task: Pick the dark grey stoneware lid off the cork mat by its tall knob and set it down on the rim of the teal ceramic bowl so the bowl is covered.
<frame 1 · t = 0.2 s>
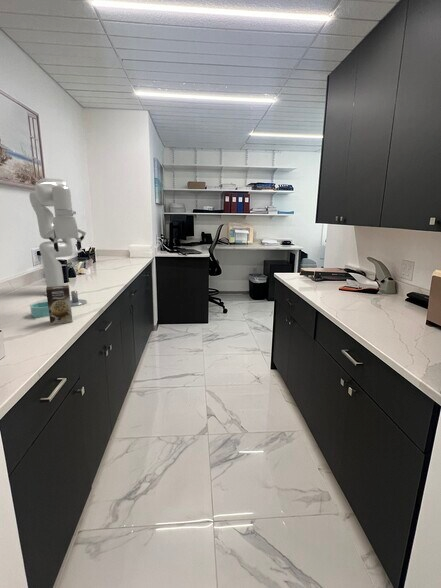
hand: (68, 250, 148), 30 cm above the table, tool pointing down, fingers open, 9 cm apart
bowl: (45, 314, 149), on the table
coffee box: (61, 322, 140), on the table
lid: (75, 303, 166), point 1 cm above the table, touching mat
mat: (75, 304, 166), on the table
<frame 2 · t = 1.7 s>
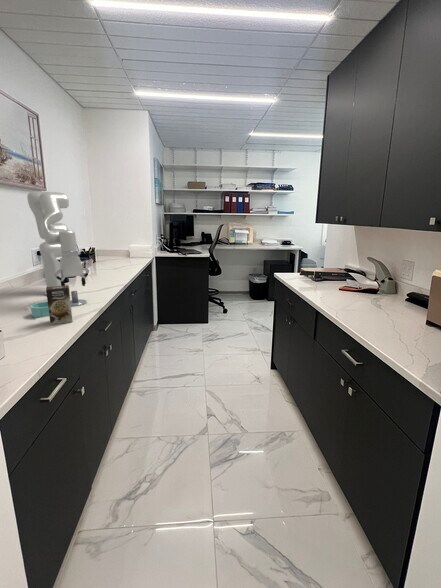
hand: (74, 287, 163), 10 cm above the table, tool pointing down, fingers open, 9 cm apart
nothing on the table moved.
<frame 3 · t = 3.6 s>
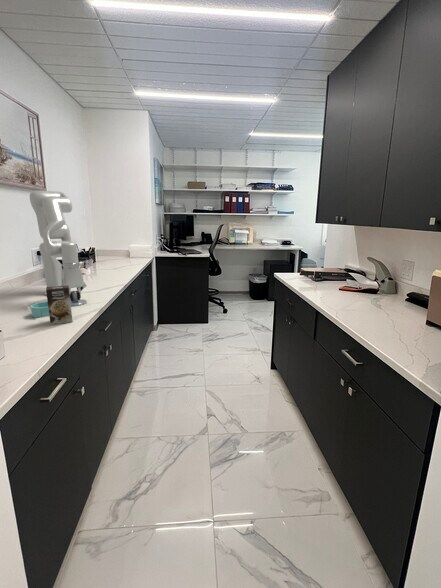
hand: (75, 299, 165), 3 cm above the table, tool pointing down, fingers closed on lid, 3 cm apart
lid: (75, 303, 166), point 1 cm above the table, touching gripper, mat
everything else where it was.
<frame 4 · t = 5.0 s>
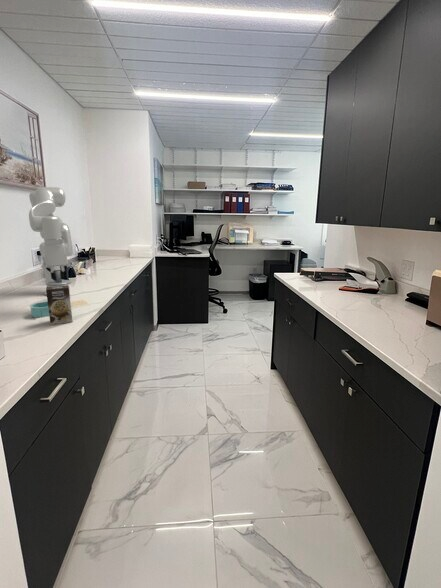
hand: (58, 279, 154), 16 cm above the table, tool pointing down, fingers closed on lid, 3 cm apart
lid: (58, 283, 154), point 13 cm above the table, touching gripper
everything else where it was.
when the fingers open (8 cm above the table, at t = 6.9 s): lid stays where it is, resting on bowl.
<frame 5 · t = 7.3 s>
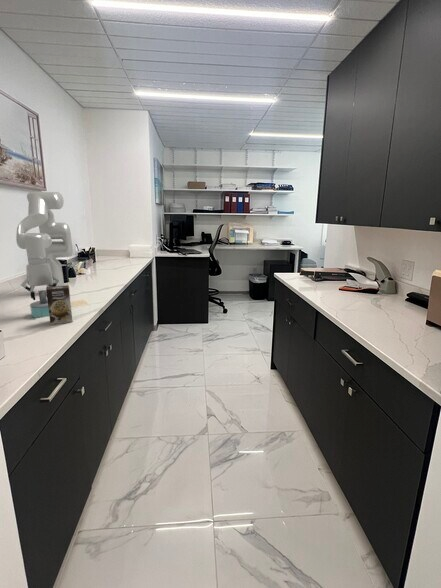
hand: (42, 298, 147), 8 cm above the table, tool pointing down, fingers open, 6 cm apart
lid: (43, 304, 148), point 5 cm above the table, touching bowl
everything else where it was.
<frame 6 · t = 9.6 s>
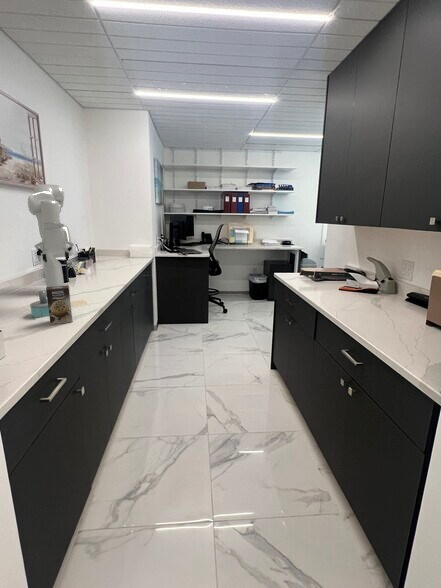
hand: (56, 261, 156), 24 cm above the table, tool pointing down, fingers open, 9 cm apart
nothing on the table moved.
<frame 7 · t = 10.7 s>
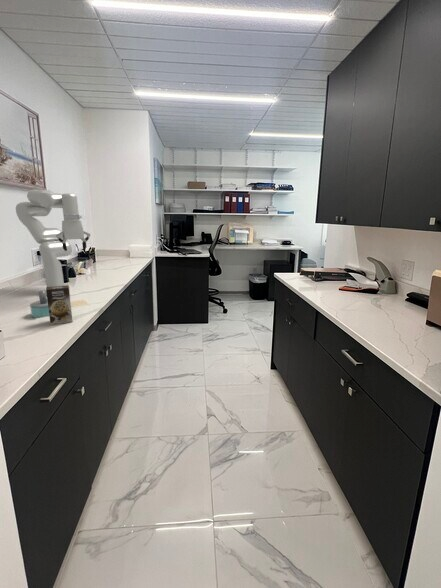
hand: (75, 249, 169), 28 cm above the table, tool pointing down, fingers open, 9 cm apart
nothing on the table moved.
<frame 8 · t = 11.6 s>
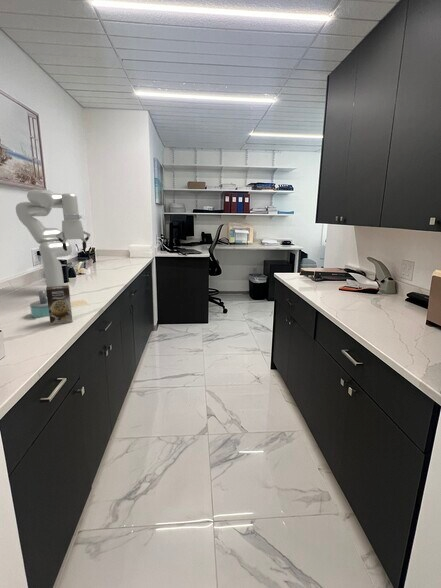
hand: (75, 249, 169), 28 cm above the table, tool pointing down, fingers open, 9 cm apart
nothing on the table moved.
at the end: lid 0.0 cm from the bowl (horizontally); lid 0.0 cm off-centre on the bowl, point 5.0 cm above the bowl's base; the gripper is holding nothing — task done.
